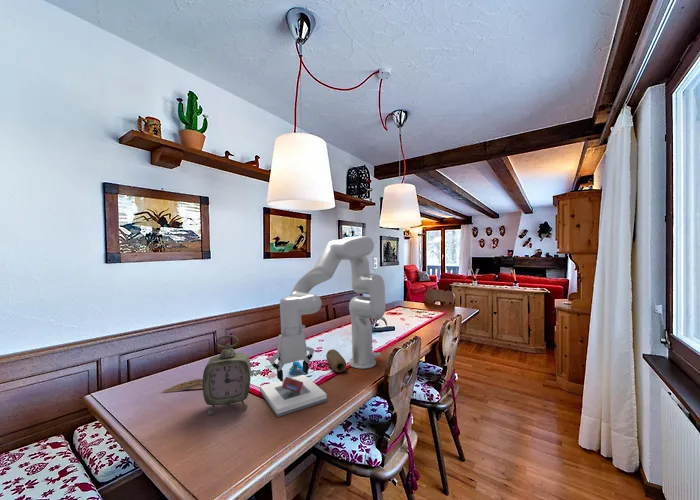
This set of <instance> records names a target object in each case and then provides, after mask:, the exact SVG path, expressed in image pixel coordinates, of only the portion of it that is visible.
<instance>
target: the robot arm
mask: <svg viewBox="0 0 700 500" xmlns="http://www.w3.org/2000/svg"><path fill="white" fill-rule="evenodd" d="M374 248H375V242H374V241H373V239H372V238H371V236H368V235H362V236H361V235H359V236H347V237H343V238H341V239H332V240H330V241H328V242H327V243H326V245H325V246H324V249H323V250H322V252H321V254H320V256H319V257H318V259H317V261H316V262H315V265H314V267H313V268H311V269H310V270H309V271H307V272H306V273H305V274H303V276H302V277H300V279H298V280H297V282H296V284H295V285H294V287H293V288H292V290H291V292H290V294H289V296H283V297H282V298H280V301H279V311H280V312H279V313H280V316H279V317H280V333H281V334H278V339H277V351H276V353H274V355H272V356H271V357H270V358H268V361H269V363H270V364H271V366H272V367H273V368H274V369H276V378H277V380H278V381H281V382H282V381H283V380H284V370H283V367H284V366H285V365H287V364H293V362H296V361H297V362H300V361H302V367H303V371H302V372H303V373H304V375H308V374H309V369H310V367H309V366H310V365H309V364H310V362H311V360H312V358H313V355H314V353H315V348H313V347H309V346H307V343H306V337H305V333H304V331H303V329H305V328H306V324H302V315H312V314H315V313H317V312H318V311H319V310H320V309H321V308H322V304H323V303H322V299H321V298H320V296H319V295H317V294H314V293H310V292H311V290H312V289H313V288H315V287H316V286H318V285H320V284H322V283H324V282H325V283H326V282H327V281H329V280H330V279H333V276H334V274H335V272H336V270H337V268H338V266H339V264H340V263H341V261H342V260H343V261H344V260H345V261H346V260H347V261H349V263H350V270H351V271H350V272H351V288H352V290H353V292H355V293H357V294H360V295H356V296H353V297H352V298H351V299H350V301H349V304H348V309H349V315H350V321H351V357H352V358H351V359H349V361H348V364H349V366H350V367H352V368H355V369H359V370H361V369H362V370H363V369H371V368H374V367H375V366H376V364H377V360H376V358H380V357H381V356H382V355H381V354H382V353H381V352H380V351H379V352H375V351H373V326H372V322H371V320H380V319H382V318H383V317H384V316H385V311H386V285H385V280H384V278H383V277H382V276H381V274H377V273H371V271H370V262H369V259H368V257H367V256H369V255H371V254H372V252H373V251H374ZM362 294H363V295H362ZM364 295H369V296H364ZM307 352H308V353H307ZM276 360H277V363H276V362H275V361H276Z"/></svg>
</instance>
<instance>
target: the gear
mask: <svg viewBox="0 0 700 500" xmlns="http://www.w3.org/2000/svg"><path fill="white" fill-rule="evenodd" d="M296 369H299V370H300V371H301V372H303V364H301V362H300V361H296V362H292V365H291V367H290V368H289V370H290V371H289V372H288V374H289V375H292V374H293V372H294V371H295V370H296Z"/></svg>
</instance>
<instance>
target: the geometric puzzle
mask: <svg viewBox="0 0 700 500" xmlns="http://www.w3.org/2000/svg"><path fill="white" fill-rule="evenodd" d="M290 376H292V377H289V375H288V376H285V378H283V384H282V388H284V389H286V390H287V389H288V390H290V392H292V391H294V392H295V393H296V392H297V393H299V394H300V391H301V388H302V385H303V382H301V381H299V380H298V381H297V379H296V380H295V379H294V378H293V375H292V374H290ZM294 376H298V377H299V376H300V375H297V373H296V374H294ZM291 378H293V379H291ZM287 393H288V392H287ZM287 393H286V394H287ZM293 394H294V393H293ZM289 395H290V394H289ZM289 395H288V396H289ZM290 396H291V395H290ZM292 396H293V395H292Z"/></svg>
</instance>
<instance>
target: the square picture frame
mask: <svg viewBox="0 0 700 500" xmlns="http://www.w3.org/2000/svg"><path fill="white" fill-rule="evenodd" d="M298 376H299V377H298ZM290 378H291V379H293V378H294V379H295V380H296V379H297V381H298V380H299V381H301V382H303V385H302V388H301V391H300V394H299V393H297V392H296V393H295V392H294V391H292V392H290V390H288V389H287V390H286V389H284V388H282V384H283V381H282V382H281V381H280V380H277V381H273V382H270V383H266V384H263V385H260V386H259V393H260V392H261V393H260V395H261V394H262V395H261V396H262V398H263V399H264V400H265V402H266V403H267V404H268V406H269V408H270V409H271V410H272V412H273V413H274V415H275V416H276V417H277V418H279V417H282V416H285V415H288V414H292V413H294V412H297V411H300V410H304V409H307V408H311V407H312V406H316V405H318V404H321V403H325V402H328V398H327V397H328V394H327V393H326V392H325V390H323V389H322V388H321V387H319V386H318V385H317V384H315V382H314V381H312V380H311V379H310V378H308V377H307V375H306V374H301V375H296V376H292V377H290ZM287 392H288V393H287ZM286 393H287V394H286ZM293 393H294V394H293ZM289 394H290V395H291V396H290V395H289ZM288 395H289V396H288ZM292 395H293V396H292Z"/></svg>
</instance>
